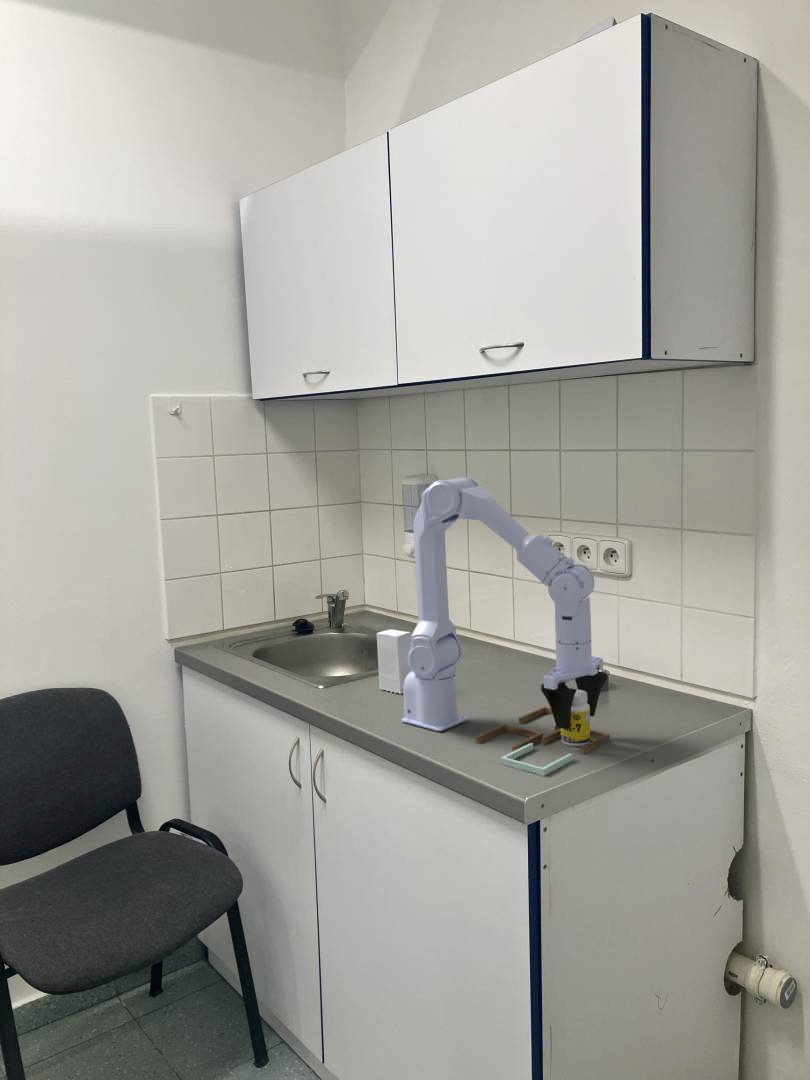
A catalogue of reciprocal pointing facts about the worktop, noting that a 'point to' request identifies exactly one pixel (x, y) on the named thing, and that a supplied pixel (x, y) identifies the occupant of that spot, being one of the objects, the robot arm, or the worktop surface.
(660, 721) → the worktop surface
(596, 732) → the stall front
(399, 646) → the skincare box
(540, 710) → the stall left
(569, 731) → the supplement bottle
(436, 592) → the robot arm
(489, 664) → the worktop surface
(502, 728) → the frame
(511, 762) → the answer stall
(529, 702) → the worktop surface
